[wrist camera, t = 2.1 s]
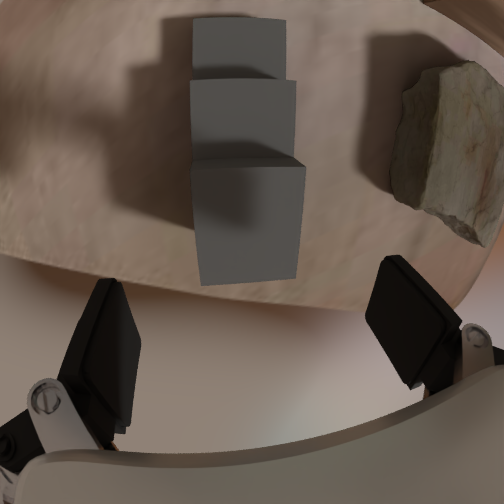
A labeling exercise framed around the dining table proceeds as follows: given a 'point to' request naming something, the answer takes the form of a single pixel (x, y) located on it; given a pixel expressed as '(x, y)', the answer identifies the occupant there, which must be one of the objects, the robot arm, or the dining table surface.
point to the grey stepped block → (244, 152)
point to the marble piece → (453, 149)
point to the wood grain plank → (476, 18)
